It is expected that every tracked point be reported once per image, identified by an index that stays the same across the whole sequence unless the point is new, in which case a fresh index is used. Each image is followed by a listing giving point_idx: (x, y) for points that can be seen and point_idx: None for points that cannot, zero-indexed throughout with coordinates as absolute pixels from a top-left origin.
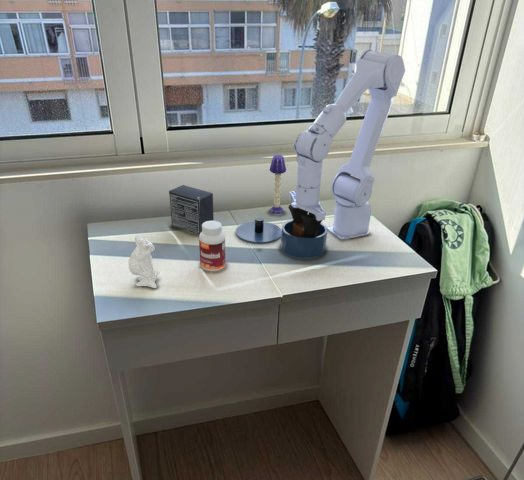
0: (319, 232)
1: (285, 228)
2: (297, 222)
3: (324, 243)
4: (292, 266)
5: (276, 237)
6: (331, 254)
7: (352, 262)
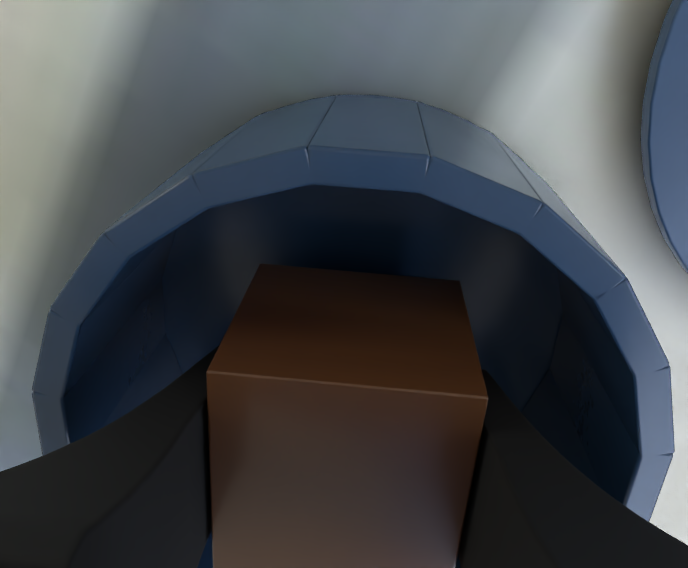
0: None
1: (584, 292)
2: (480, 467)
3: None
4: (83, 21)
5: (677, 193)
6: None
7: None
